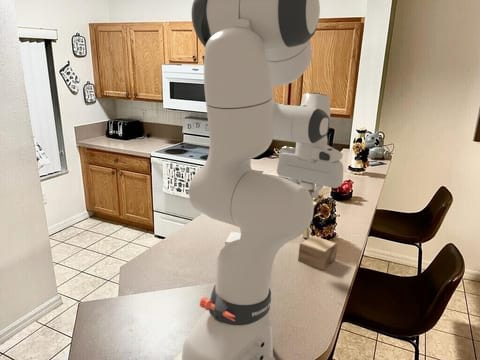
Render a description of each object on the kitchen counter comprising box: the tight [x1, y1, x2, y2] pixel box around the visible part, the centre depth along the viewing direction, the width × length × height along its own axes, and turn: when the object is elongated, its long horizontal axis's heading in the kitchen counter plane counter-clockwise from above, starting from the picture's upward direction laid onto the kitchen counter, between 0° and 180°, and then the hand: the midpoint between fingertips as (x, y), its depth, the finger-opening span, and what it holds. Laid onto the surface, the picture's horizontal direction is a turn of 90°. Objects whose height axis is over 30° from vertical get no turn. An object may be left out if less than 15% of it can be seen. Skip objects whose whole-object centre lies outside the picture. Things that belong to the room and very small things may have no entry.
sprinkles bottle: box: [298, 180, 316, 225], centre depth 109 cm, size 5×5×13 cm
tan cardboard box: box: [297, 235, 338, 271], centre depth 118 cm, size 9×9×6 cm
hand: (306, 195), depth 108 cm, fingers closed on sprinkles bottle, 4 cm apart
